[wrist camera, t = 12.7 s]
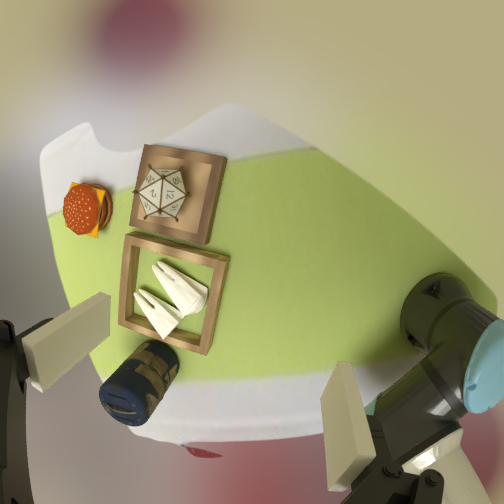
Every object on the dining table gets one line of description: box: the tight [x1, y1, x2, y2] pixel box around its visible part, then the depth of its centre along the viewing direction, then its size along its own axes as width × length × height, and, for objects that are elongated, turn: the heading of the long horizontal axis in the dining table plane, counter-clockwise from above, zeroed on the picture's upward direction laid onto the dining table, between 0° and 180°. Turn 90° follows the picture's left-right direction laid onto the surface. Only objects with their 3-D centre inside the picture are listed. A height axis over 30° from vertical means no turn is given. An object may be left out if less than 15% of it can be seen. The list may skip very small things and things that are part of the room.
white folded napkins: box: [134, 261, 208, 339], centre depth 48 cm, size 12×4×11 cm
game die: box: [133, 163, 192, 222], centre depth 40 cm, size 9×8×10 cm
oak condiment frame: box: [118, 232, 230, 356], centre depth 49 cm, size 18×18×4 cm
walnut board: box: [129, 144, 227, 245], centre depth 45 cm, size 14×14×3 cm
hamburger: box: [63, 182, 112, 238], centre depth 46 cm, size 9×10×7 cm
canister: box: [99, 341, 179, 426], centre depth 45 cm, size 10×10×18 cm
